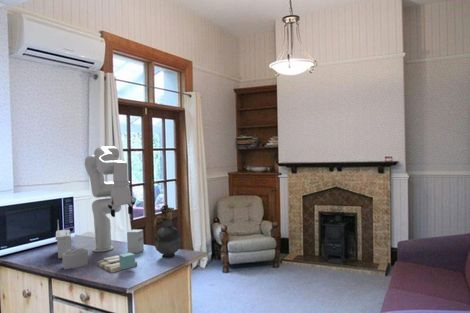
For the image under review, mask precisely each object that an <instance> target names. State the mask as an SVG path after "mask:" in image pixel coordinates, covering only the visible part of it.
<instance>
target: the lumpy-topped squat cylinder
mask: <svg viewBox="0 0 470 313" xmlns="http://www.w3.org/2000/svg"><path fill="white" fill-rule="evenodd" d="M61 259H62V261H61V262H62V269H63V268H64V270H70V268H72V269H77V268H80V267H83V266H86V265H88V264H89V251H88V249H85V248H83V247H76V248H74V249H72V248H71V249H68V250H67V251H66V252H65V253H63V254H62V258H61Z"/></svg>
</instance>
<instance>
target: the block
mask: <svg viewBox="0 0 470 313" xmlns="http://www.w3.org/2000/svg"><path fill="white" fill-rule="evenodd" d="M135 254H136V253H128V252H127V253H121V254H119V255H118V256H119V261H120V267H121V268H123V270H126V269H125V268H127V269H130V268H129V267H131V268H134V267H133V266H135V261H136V257H135ZM135 267H136V266H135Z"/></svg>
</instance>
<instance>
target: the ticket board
mask: <svg viewBox="0 0 470 313" xmlns="http://www.w3.org/2000/svg"><path fill="white" fill-rule="evenodd" d="M97 266H99V267H100V268H103V269H105V270H106V271H108V272H110V273H115V272H118V271H123V270H126V269H131V268H134V267H137V266H138V261H136V260H135V266H133V267H129V268H125V269H123V268H121V267H120V261H119V255H118V254H116V255H112V256H106V257H103V259H101V260H98V261H97Z"/></svg>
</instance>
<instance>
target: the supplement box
mask: <svg viewBox="0 0 470 313" xmlns="http://www.w3.org/2000/svg"><path fill="white" fill-rule="evenodd" d="M126 242H127V243H126V244H127V247H126V248H127V253H133V254H139V253H140V252H142V251H144V248H145V247H144V244H145V243H144V229H131V230H129V231H127V232H126Z"/></svg>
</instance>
